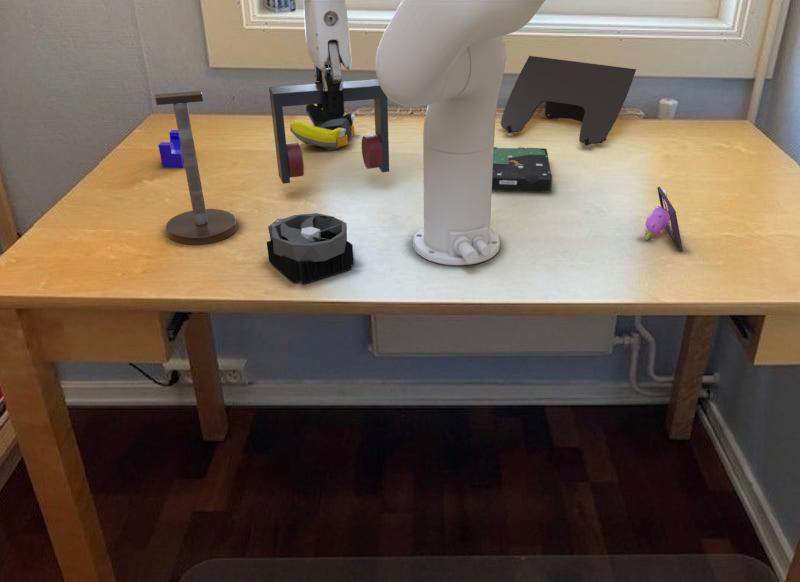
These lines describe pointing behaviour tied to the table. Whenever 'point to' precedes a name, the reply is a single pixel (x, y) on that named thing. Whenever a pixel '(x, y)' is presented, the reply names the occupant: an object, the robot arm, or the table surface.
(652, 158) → the table surface
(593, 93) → the laptop tray
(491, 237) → the robot arm
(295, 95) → the headset
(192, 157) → the stand
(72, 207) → the table surface
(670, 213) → the purple piece
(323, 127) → the gaming controller
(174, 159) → the cable holder
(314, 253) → the cpu cooler
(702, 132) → the table surface
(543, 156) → the disk drive
